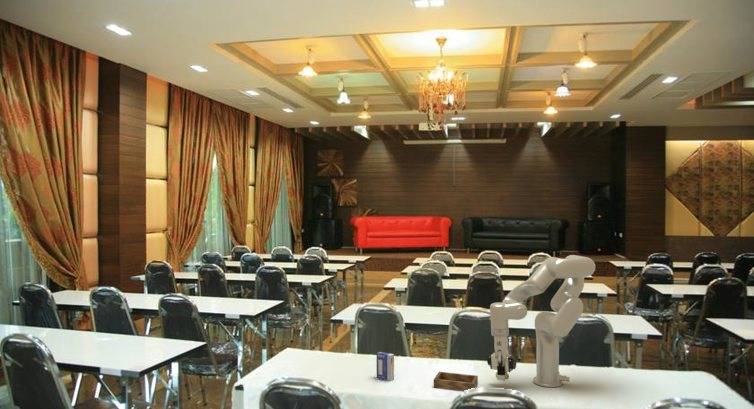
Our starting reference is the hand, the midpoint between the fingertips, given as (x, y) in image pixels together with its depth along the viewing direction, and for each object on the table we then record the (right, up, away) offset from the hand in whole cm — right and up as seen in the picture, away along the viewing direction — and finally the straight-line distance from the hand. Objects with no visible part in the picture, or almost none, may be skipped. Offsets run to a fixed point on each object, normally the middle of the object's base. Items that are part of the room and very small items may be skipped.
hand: (502, 372), depth 233 cm
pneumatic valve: (0, -3, 0) cm, 3 cm away
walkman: (-51, -6, +9) cm, 52 cm away
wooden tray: (-20, -6, +1) cm, 21 cm away
